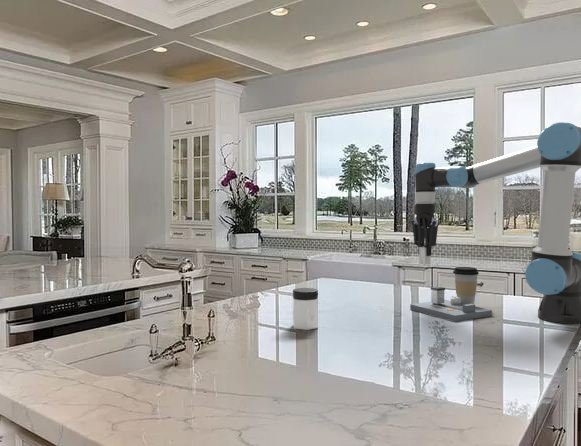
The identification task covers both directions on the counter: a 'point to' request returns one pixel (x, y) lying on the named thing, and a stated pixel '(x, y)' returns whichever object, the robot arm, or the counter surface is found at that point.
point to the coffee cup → (466, 283)
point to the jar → (305, 308)
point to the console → (452, 310)
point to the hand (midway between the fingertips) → (424, 263)
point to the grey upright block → (437, 295)
